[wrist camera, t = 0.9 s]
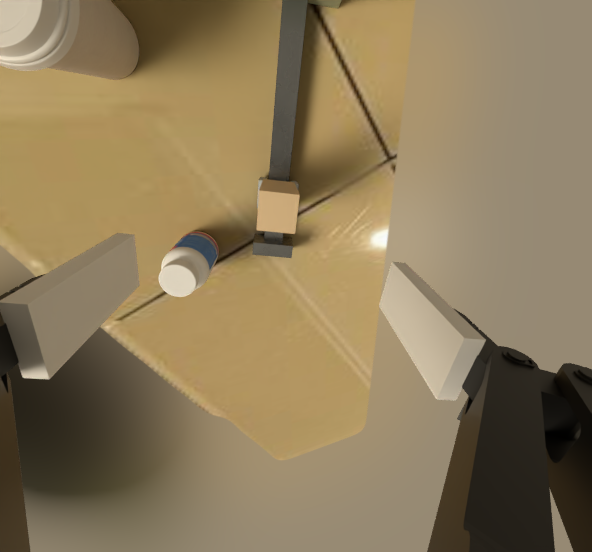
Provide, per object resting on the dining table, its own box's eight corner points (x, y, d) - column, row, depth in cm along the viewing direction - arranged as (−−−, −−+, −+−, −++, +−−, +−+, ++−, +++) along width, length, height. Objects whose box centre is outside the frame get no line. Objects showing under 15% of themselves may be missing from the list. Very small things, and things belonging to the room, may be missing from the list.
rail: (270, -4, 29) (269, -22, 26) (318, 5, 30) (324, -12, 26) (254, 245, 40) (252, 254, 37) (290, 248, 41) (291, 257, 38)
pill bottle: (183, 225, 39) (155, 250, 30) (223, 237, 40) (207, 264, 31) (176, 261, 41) (148, 295, 32) (214, 272, 42) (198, 307, 33)
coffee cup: (154, -4, 29) (44, -133, 15) (154, 105, 33) (68, 80, 19) (49, -33, 27) (-174, -201, 14) (62, 84, 31) (-101, 42, 18)
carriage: (260, 175, 36) (253, 189, 25) (297, 179, 36) (305, 195, 26) (258, 204, 37) (251, 229, 27) (293, 208, 38) (300, 234, 27)
